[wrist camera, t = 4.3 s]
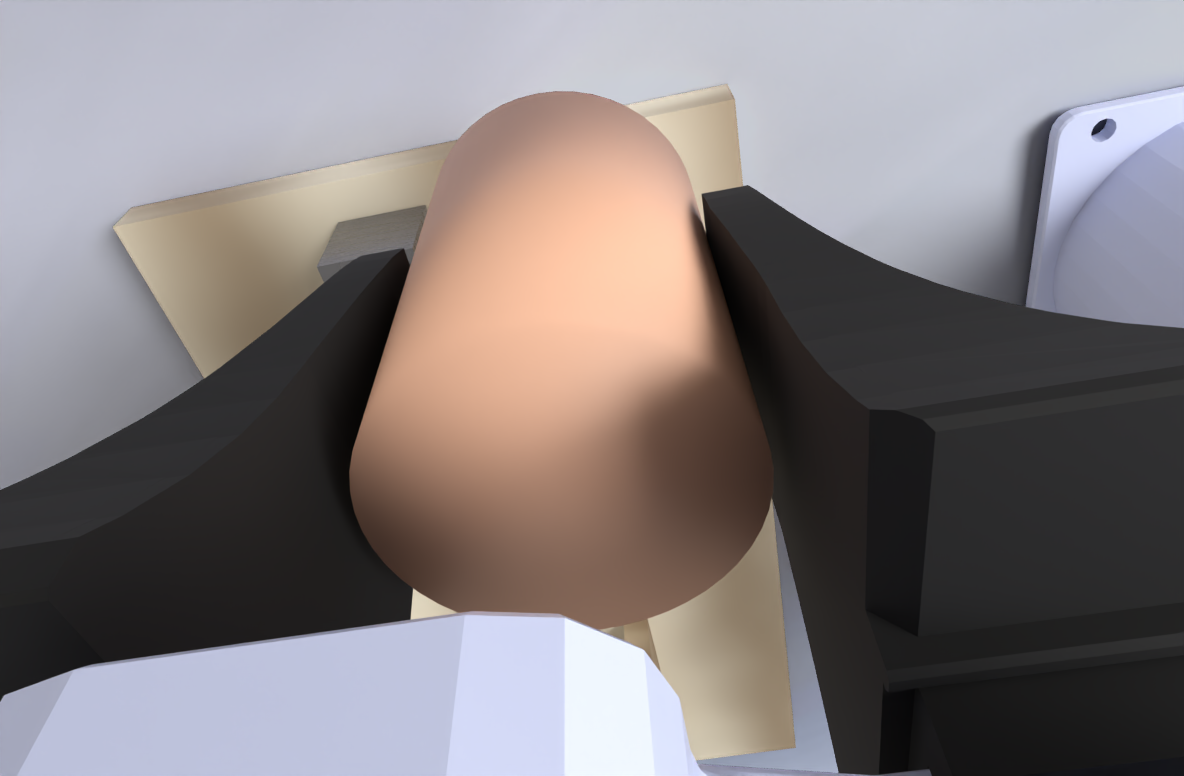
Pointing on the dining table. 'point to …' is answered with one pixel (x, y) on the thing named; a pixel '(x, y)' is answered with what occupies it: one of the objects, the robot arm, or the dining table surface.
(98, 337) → the dining table surface
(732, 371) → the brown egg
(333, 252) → the lock pin
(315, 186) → the dock
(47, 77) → the dining table surface
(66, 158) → the dining table surface
